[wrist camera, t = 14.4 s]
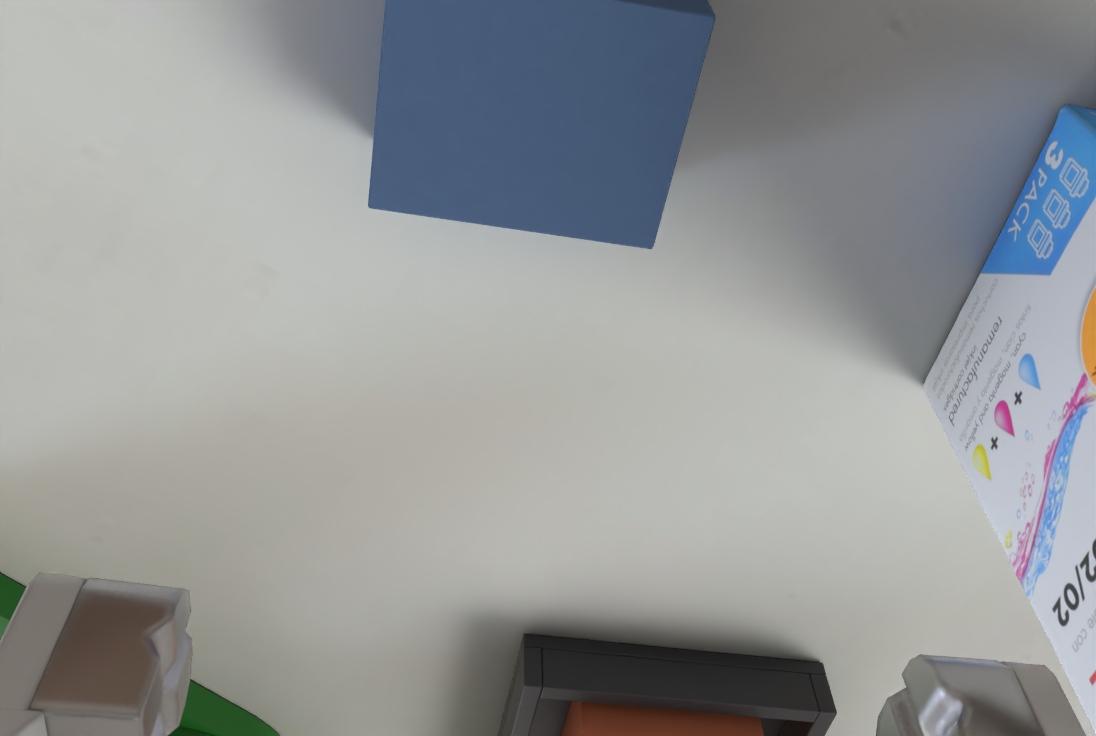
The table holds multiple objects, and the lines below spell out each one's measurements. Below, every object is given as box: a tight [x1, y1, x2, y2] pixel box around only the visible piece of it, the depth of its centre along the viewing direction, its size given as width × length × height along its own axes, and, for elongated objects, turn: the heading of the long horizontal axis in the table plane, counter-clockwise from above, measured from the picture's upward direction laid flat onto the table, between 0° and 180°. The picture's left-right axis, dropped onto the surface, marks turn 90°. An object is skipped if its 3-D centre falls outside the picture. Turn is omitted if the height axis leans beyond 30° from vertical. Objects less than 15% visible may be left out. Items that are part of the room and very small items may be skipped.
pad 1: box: [368, 0, 715, 249], centre depth 21 cm, size 6×5×3 cm
